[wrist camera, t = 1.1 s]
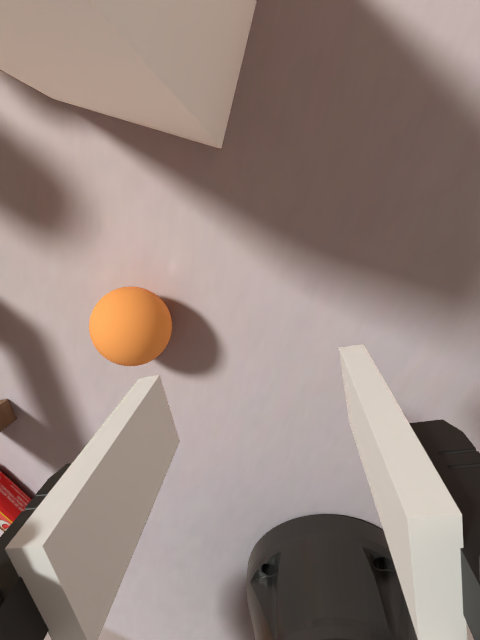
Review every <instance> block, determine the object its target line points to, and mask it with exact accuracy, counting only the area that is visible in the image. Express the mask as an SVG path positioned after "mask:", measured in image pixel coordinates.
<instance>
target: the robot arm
mask: <svg viewBox="0 0 480 640" xmlns="http://www.w3.org/2000/svg"><path fill="white" fill-rule="evenodd" d="M339 353H340V360H341V367H342V375H343V382H344V389H345V396H346V403H347V410H348V417H349V423H350V426H351V429H352V432H353V435H354V438H355V442H356V445H357V448H358V451H359V454H360V457H361V461H362V464H363V467H364V470H365V473H366V476H367V480H368V483H369V486H370V489H371V492H372V496H373V499H374V502H375V505H376V508H377V511H378V515H379V518H380V521H381V524H382V527H383V530H384V531H382V530H381V529H379V528H377V527H376V526H374V525H371V524H369V523H367V522H364V521H362V520H358V519H355V518H351V517H346V516H340V515H328V514H322V515H309V516H304V517H299V518H295V519H292V520H289V521H287V522H284V523H282V524H280V525H278V526H276V527H275V528H273V529H271V530H270V531H269V532H267V533H266V534H265V535H264V536H263V537H262V538H261V539H260V540H259V541H258V543H257V544H256V545H255V547H254V548H253V550H252V552H251V555H250V558H249V562H248V571H247V583H246V597H247V603H248V608H249V612H250V617H251V621H252V626H253V631H254V635H255V640H467V624H468V626H469V628H470V631H471V633H472V635H473V637H474V640H480V453H479V452H478V451H476V448H475V447H474V446H473V444H472V443H471V442H470V441H469V439H468V438H467V437H466V435H465V434H464V433H463V432H462V431H460V430H459V429H457V428H456V427H454V426H452V425H451V424H449V423H447V422H446V421H444V420H434V421H425V422H417V423H409V422H408V421H407V419H406V417H405V415H404V414H403V412H402V410H401V409H400V407H399V405H398V403H397V402H396V400H395V398H394V397H393V395H392V393H391V391H390V390H389V388H388V386H387V384H386V383H385V381H384V379H383V378H382V376H381V374H380V372H379V371H378V369H377V367H376V365H375V364H374V362H373V360H372V359H371V357H370V355H369V353H368V352H367V350H366V348H365V347H364V345H363V344H362V345H355V346H349V347H342V348H339ZM179 442H180V441H179V438H178V434H177V431H176V428H175V424H174V421H173V418H172V415H171V411H170V408H169V405H168V401H167V398H166V395H165V391H164V388H163V385H162V382H161V378H160V375H157V376H150V377H144V378H139V379H138V380H137V382H136V383H135V384H134V385H133V387H132V388H131V389H130V390H129V392H128V393H127V394H126V396H125V397H124V398H123V399H122V401H121V402H120V403H119V404H118V406H117V407H116V408H115V409H114V411H113V412H112V413H111V415H110V416H109V417H108V418H107V420H106V421H105V422H104V423H103V425H102V426H101V427H100V429H99V430H98V431H97V432H96V434H95V435H94V436H93V437H92V439H91V440H90V441H89V442H88V444H87V445H86V446H85V448H84V449H83V450H82V451H81V453H80V454H79V455H78V456H77V458H76V459H75V460H74V462H73V463H71V464H66V465H65V466H64V467H63V468H61V469H60V470H59V471H58V472H56V473H55V474H54V475H53V476H51V477H50V478H49V479H48V480H47V481H46V483H45V484H44V485H43V486H42V487H41V489H40V490H39V491H38V492H37V494H36V497H33V498H32V500H31V501H30V502H29V503H28V504H27V506H26V507H25V511H22V512H21V513H20V514H19V515H18V516H17V518H16V519H15V520H14V521H13V523H12V524H11V525H10V526H9V527H8V529H7V530H6V531H5V532H4V533H3V535H2V536H1V537H0V640H44V638H45V636H46V634H47V632H48V633H49V635H50V637H51V639H52V640H98V637H99V635H100V633H101V630H102V628H103V625H104V623H105V621H106V618H107V616H108V613H109V611H110V608H111V606H112V604H113V601H114V599H115V596H116V594H117V592H118V589H119V587H120V584H121V582H122V579H123V577H124V575H125V572H126V570H127V567H128V565H129V563H130V560H131V558H132V555H133V553H134V550H135V548H136V546H137V543H138V541H139V538H140V536H141V534H142V531H143V529H144V526H145V524H146V521H147V519H148V517H149V514H150V512H151V509H152V507H153V505H154V502H155V500H156V497H157V495H158V492H159V490H160V488H161V485H162V483H163V480H164V478H165V476H166V473H167V471H168V468H169V466H170V463H171V461H172V459H173V456H174V454H175V451H176V449H177V447H178V444H179ZM466 622H467V623H466Z"/></svg>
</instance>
